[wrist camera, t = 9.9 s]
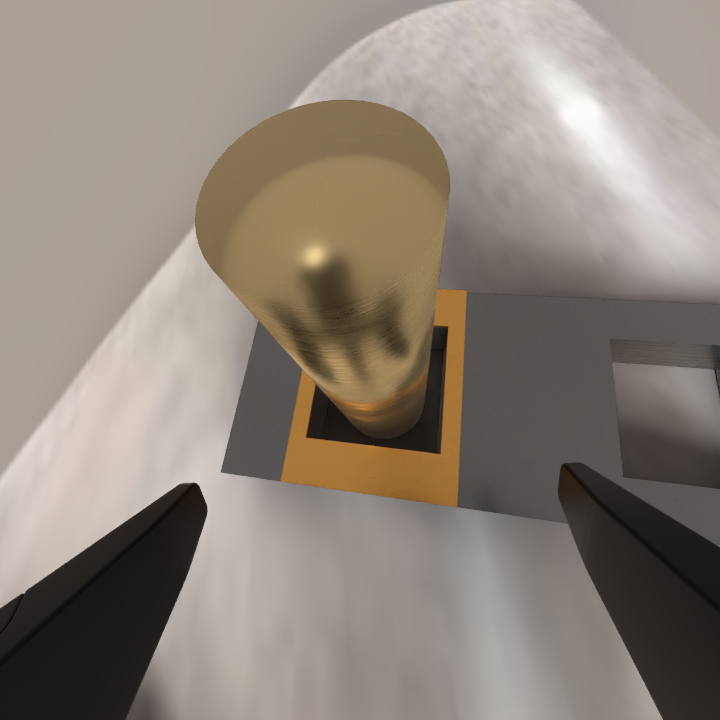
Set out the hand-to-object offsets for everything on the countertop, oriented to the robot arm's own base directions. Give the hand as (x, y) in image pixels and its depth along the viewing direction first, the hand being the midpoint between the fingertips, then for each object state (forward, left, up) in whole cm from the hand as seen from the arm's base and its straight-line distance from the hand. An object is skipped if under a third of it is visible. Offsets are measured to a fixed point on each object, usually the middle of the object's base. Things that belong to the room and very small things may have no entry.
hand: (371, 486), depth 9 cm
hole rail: (+7, +1, -8) cm, 10 cm away
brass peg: (+2, +4, -8) cm, 9 cm away
